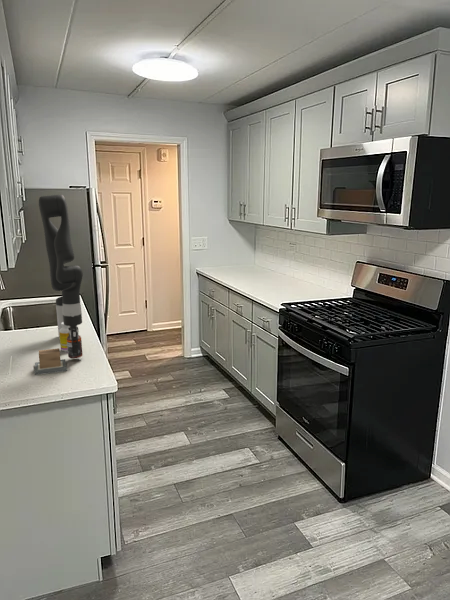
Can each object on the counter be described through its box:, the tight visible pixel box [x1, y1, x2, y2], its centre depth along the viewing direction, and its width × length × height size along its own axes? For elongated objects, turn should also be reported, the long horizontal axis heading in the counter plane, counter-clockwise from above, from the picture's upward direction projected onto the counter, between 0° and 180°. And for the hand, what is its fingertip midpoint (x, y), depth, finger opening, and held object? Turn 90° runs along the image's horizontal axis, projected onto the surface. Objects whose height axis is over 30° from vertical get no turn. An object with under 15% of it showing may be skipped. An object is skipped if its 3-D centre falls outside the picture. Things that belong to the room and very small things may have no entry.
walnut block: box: [38, 347, 62, 369], centre depth 191 cm, size 6×8×6 cm
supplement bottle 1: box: [59, 322, 70, 353], centre depth 213 cm, size 7×7×13 cm
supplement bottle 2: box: [67, 332, 84, 359], centre depth 199 cm, size 6×6×11 cm
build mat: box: [34, 358, 67, 375], centre depth 191 cm, size 12×12×1 cm
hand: (75, 350), depth 200 cm, fingers closed on supplement bottle 2, 6 cm apart
